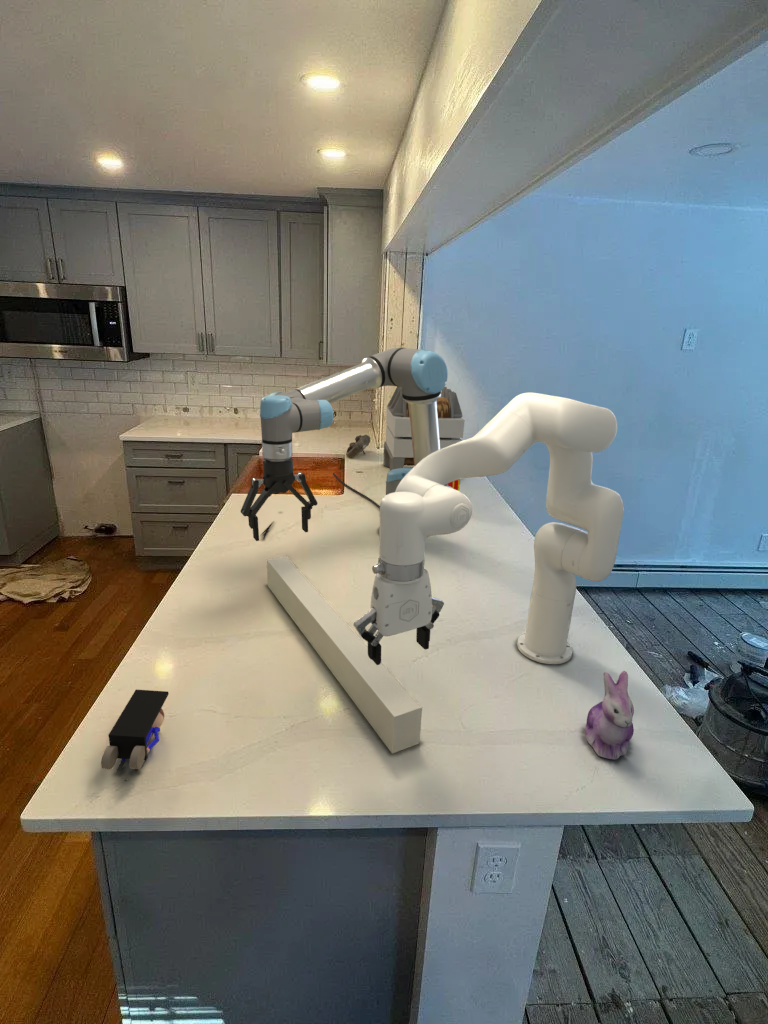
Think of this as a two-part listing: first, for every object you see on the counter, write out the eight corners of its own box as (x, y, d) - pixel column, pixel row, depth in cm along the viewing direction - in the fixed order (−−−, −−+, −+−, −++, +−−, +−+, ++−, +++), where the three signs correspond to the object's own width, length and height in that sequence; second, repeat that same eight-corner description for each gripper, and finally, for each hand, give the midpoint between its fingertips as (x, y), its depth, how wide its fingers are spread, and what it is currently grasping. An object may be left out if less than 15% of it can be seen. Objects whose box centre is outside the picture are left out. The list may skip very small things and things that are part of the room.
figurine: (612, 770, 99) (628, 699, 94) (570, 732, 108) (582, 666, 103) (649, 753, 104) (666, 685, 99) (605, 718, 112) (619, 654, 107)
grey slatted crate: (382, 463, 289) (386, 382, 275) (445, 464, 293) (451, 384, 279) (390, 482, 257) (394, 392, 243) (460, 483, 261) (468, 394, 247)
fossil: (346, 440, 314) (367, 425, 309) (357, 454, 317) (378, 439, 312) (340, 454, 295) (362, 438, 290) (351, 468, 298) (374, 453, 293)
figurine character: (145, 787, 93) (174, 717, 107) (138, 755, 90) (169, 687, 103) (104, 787, 93) (138, 716, 107) (95, 754, 90) (132, 686, 103)
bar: (267, 585, 159) (266, 559, 156) (287, 581, 162) (286, 555, 159) (392, 753, 101) (394, 716, 98) (419, 743, 104) (422, 707, 101)
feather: (281, 515, 215) (284, 511, 215) (262, 541, 189) (264, 536, 188) (277, 512, 215) (280, 508, 215) (257, 538, 189) (260, 534, 188)
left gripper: (232, 467, 135) (238, 548, 143) (328, 456, 147) (329, 531, 154) (224, 459, 141) (230, 537, 149) (317, 449, 153) (319, 522, 160)
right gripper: (365, 587, 87) (365, 679, 93) (457, 564, 95) (451, 650, 101) (344, 567, 93) (345, 655, 99) (432, 547, 101) (428, 630, 107)
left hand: (281, 534), depth 152 cm, fingers open, 13 cm apart
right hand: (399, 652), depth 100 cm, fingers open, 9 cm apart
